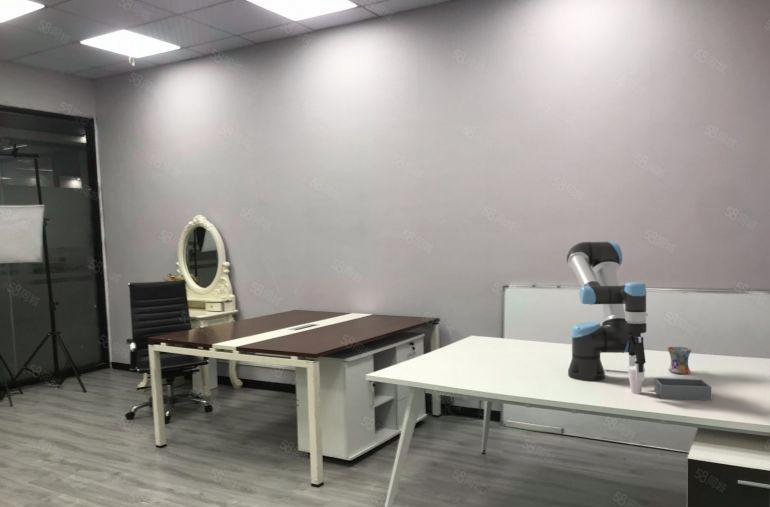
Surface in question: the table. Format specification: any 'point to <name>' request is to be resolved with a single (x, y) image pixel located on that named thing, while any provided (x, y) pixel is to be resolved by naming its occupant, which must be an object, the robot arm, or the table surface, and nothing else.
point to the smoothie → (634, 380)
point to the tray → (682, 389)
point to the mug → (679, 360)
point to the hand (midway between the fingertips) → (636, 376)
